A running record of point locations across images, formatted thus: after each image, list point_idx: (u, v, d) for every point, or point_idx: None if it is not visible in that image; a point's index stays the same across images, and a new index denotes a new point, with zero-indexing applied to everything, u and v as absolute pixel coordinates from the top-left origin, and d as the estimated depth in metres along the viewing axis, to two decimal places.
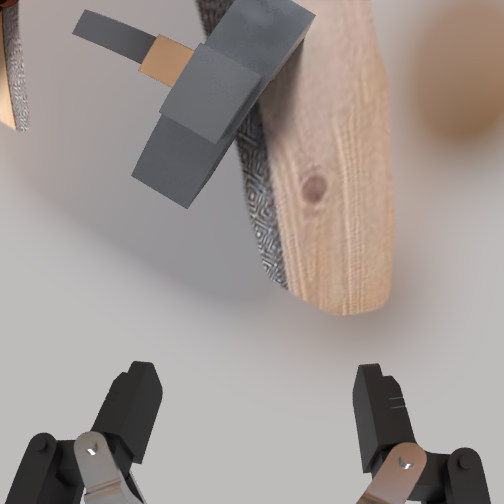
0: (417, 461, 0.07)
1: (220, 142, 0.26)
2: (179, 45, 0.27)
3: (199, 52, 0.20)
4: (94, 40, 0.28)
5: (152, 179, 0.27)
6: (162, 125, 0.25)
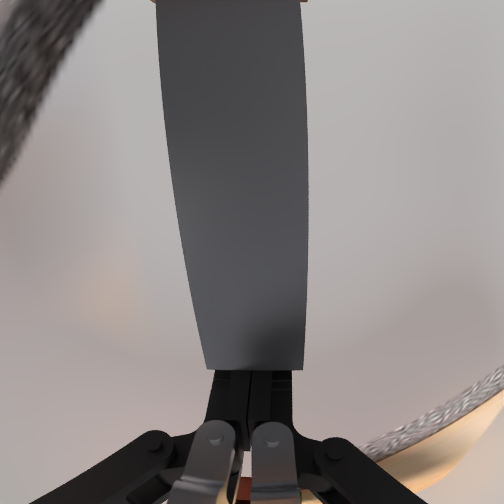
0: (281, 442, 0.08)
1: None
2: None
3: None
4: (297, 279, 0.09)
5: None
6: None
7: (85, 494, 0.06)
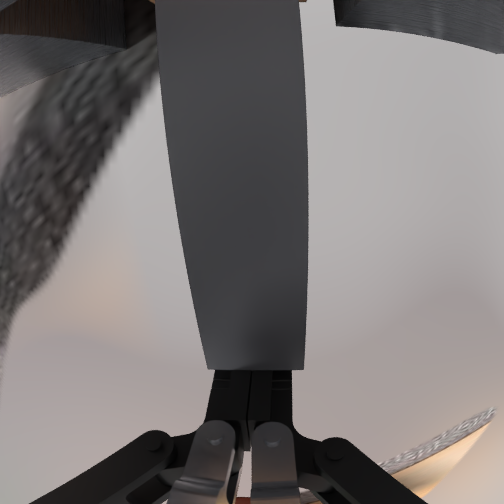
0: (281, 442, 0.08)
1: None
2: None
3: None
4: (298, 278, 0.09)
5: None
6: None
7: (85, 494, 0.06)
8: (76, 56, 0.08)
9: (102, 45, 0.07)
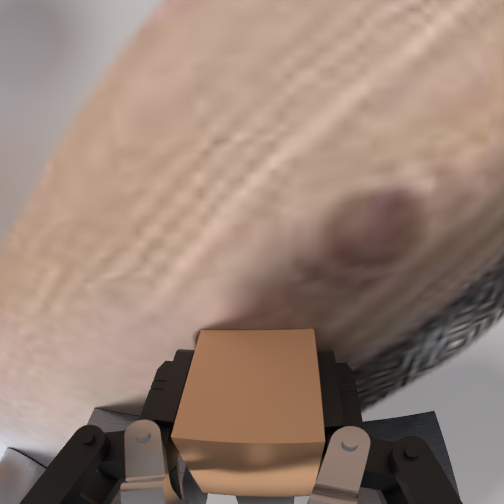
0: (360, 445, 0.08)
1: None
2: (192, 468, 0.09)
3: None
4: None
5: None
6: None
7: (45, 500, 0.06)
8: None
9: None
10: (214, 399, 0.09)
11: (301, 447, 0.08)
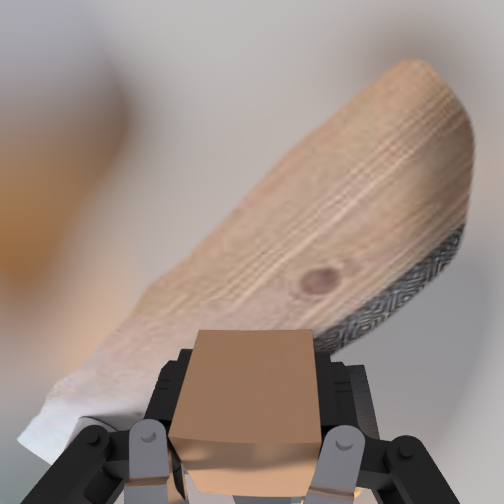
0: (355, 444, 0.08)
1: None
2: (189, 468, 0.09)
3: None
4: None
5: None
6: None
7: (48, 499, 0.06)
8: None
9: None
10: (211, 399, 0.09)
11: (298, 447, 0.08)
